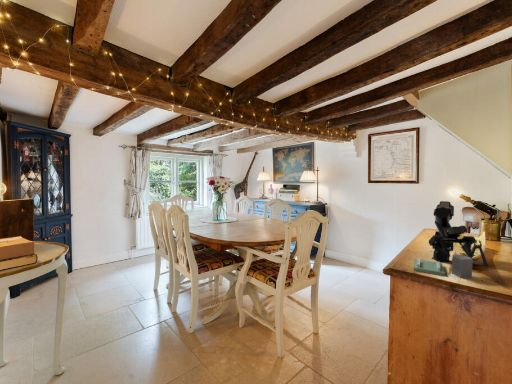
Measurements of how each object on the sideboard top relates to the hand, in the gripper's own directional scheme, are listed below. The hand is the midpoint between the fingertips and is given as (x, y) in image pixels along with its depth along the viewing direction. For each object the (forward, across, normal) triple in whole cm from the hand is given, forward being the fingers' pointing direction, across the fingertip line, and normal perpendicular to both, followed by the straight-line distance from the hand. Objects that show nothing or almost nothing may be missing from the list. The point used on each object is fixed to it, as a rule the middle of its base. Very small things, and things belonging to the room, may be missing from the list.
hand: (460, 256), depth 115 cm
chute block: (+7, 0, +5) cm, 9 cm away
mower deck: (+1, -9, +11) cm, 15 cm away
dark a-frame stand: (-6, +21, +18) cm, 28 cm away
